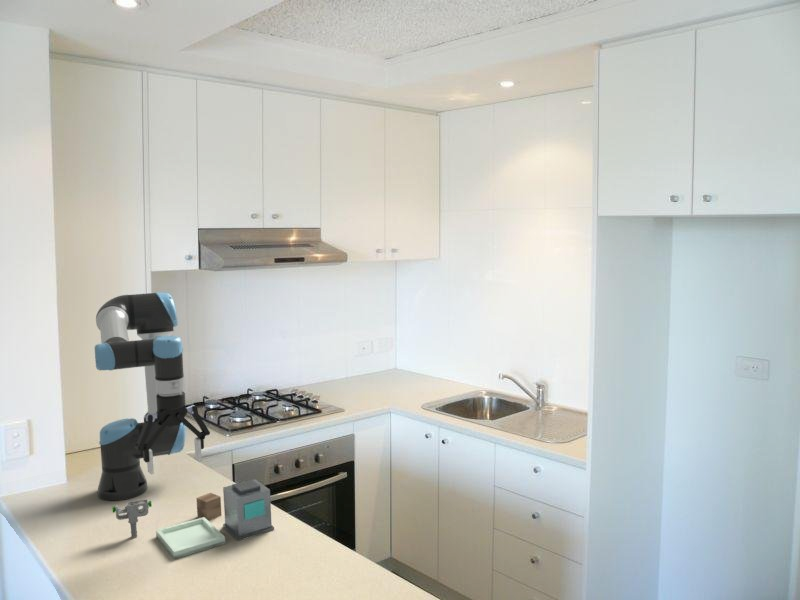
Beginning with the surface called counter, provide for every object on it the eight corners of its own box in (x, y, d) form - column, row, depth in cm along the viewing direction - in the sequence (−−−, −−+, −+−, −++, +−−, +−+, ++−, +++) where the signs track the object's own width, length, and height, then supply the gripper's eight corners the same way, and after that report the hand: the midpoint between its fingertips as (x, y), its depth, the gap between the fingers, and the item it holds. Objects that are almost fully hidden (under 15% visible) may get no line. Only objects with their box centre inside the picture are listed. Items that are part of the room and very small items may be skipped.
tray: (156, 536, 200) (156, 530, 200) (204, 523, 208) (204, 516, 208) (174, 559, 187) (174, 552, 187) (225, 543, 195) (224, 536, 195)
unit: (222, 526, 206) (220, 483, 204) (258, 516, 212) (255, 474, 210) (237, 540, 197) (235, 496, 195) (274, 529, 203) (272, 486, 201)
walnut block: (197, 516, 213) (196, 497, 212) (211, 511, 217) (210, 492, 216) (207, 521, 210) (206, 502, 209) (221, 515, 213) (220, 496, 213)
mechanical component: (115, 537, 200) (112, 504, 199) (153, 531, 204) (151, 498, 202) (114, 542, 197) (112, 508, 196) (153, 535, 201) (151, 502, 200)
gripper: (128, 404, 184) (134, 482, 187) (219, 387, 199) (222, 459, 202) (119, 398, 190) (125, 473, 193) (208, 382, 205) (212, 452, 208)
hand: (175, 466), depth 197 cm, fingers open, 13 cm apart
